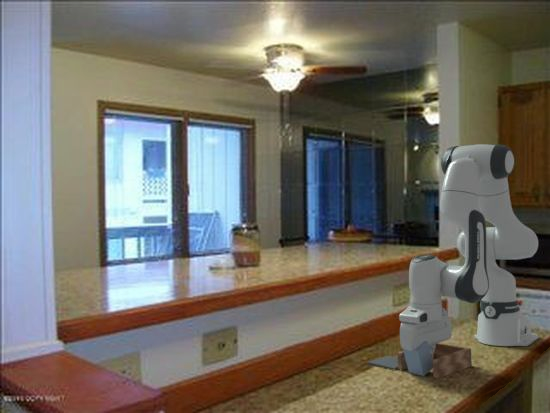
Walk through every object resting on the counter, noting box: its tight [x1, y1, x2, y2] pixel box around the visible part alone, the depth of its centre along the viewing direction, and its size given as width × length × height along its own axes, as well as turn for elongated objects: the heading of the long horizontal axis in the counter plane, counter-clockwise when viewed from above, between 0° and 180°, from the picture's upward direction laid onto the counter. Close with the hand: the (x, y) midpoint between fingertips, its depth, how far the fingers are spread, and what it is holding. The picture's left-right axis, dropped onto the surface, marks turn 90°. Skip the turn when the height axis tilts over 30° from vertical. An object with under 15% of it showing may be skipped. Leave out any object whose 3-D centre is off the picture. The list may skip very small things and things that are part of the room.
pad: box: [366, 355, 398, 370], centre depth 170 cm, size 10×10×1 cm
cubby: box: [396, 342, 473, 380], centre depth 164 cm, size 17×13×5 cm
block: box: [402, 341, 433, 377], centre depth 159 cm, size 5×5×8 cm
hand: (428, 360), depth 162 cm, fingers closed
